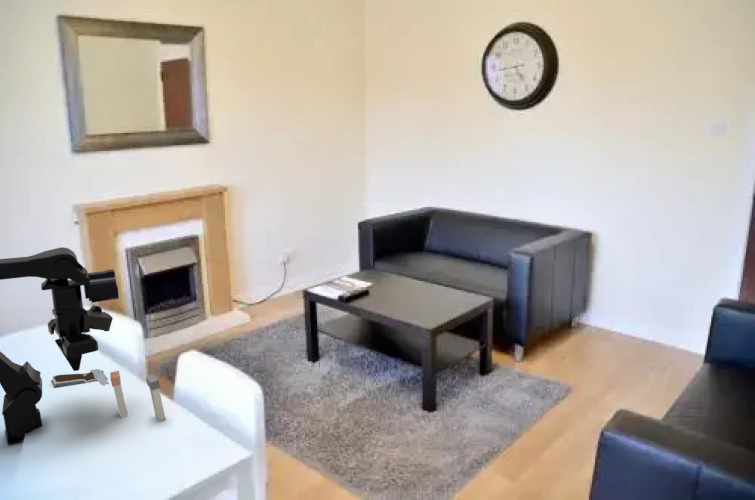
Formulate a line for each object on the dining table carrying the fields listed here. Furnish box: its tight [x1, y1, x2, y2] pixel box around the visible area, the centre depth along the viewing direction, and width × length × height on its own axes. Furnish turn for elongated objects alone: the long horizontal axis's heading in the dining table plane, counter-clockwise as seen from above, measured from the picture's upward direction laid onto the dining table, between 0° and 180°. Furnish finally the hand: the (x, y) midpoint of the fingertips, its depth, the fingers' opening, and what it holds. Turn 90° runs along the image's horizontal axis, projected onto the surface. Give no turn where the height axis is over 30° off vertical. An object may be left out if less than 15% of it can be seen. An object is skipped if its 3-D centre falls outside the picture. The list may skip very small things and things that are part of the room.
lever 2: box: [145, 373, 166, 422], centre depth 137 cm, size 2×3×10 cm, turn 36°
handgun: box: [50, 368, 110, 389], centre depth 153 cm, size 2×23×12 cm
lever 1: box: [109, 370, 128, 418], centre depth 139 cm, size 2×3×10 cm, turn 24°
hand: (76, 370), depth 136 cm, fingers closed
